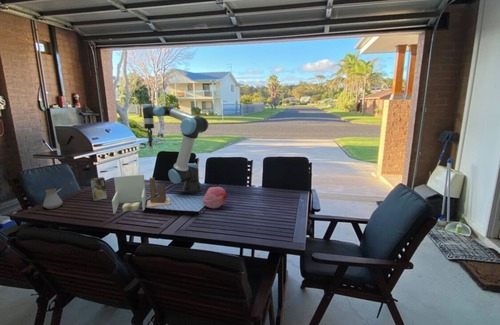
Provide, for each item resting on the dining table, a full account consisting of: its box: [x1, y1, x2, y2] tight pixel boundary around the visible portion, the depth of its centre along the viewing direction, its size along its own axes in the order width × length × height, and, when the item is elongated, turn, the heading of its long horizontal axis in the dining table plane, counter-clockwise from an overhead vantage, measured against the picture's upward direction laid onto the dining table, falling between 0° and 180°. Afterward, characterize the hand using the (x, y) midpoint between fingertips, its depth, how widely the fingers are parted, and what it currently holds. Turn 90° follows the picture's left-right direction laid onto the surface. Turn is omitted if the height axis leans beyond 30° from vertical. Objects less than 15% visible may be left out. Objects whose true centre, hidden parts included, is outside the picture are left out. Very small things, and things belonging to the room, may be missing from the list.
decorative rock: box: [202, 186, 228, 210], centre depth 187 cm, size 19×14×15 cm
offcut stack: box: [121, 201, 141, 212], centre depth 188 cm, size 11×8×4 cm
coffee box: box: [90, 176, 108, 202], centre depth 209 cm, size 9×6×16 cm
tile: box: [146, 197, 172, 208], centre depth 198 cm, size 16×14×1 cm
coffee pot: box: [42, 181, 73, 210], centre depth 196 cm, size 21×12×15 cm, turn 159°
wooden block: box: [148, 177, 167, 203], centre depth 197 cm, size 4×11×18 cm, turn 86°
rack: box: [111, 173, 147, 215], centre depth 191 cm, size 20×22×20 cm
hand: (151, 149), depth 225 cm, fingers open, 13 cm apart
